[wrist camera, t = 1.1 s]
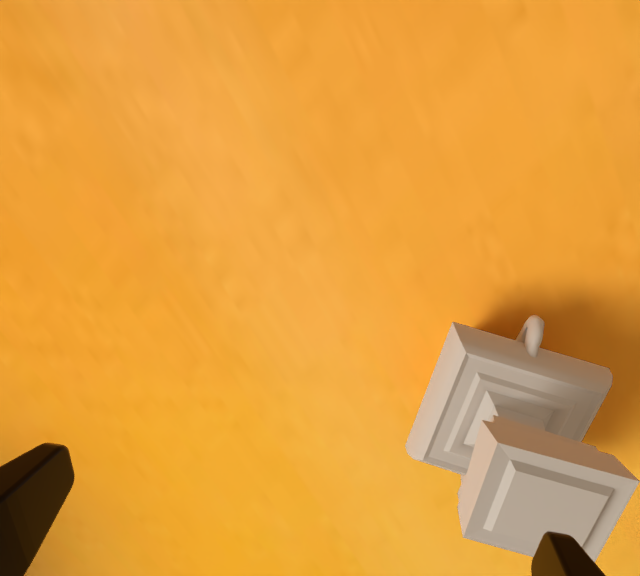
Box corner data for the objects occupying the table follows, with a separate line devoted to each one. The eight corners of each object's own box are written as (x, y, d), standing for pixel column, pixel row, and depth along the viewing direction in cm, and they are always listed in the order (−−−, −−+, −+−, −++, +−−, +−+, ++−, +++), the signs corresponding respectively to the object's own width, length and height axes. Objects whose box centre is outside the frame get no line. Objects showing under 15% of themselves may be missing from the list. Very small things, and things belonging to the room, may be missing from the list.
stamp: (453, 279, 21) (486, 360, 13) (598, 319, 21) (722, 428, 13) (397, 436, 24) (396, 578, 16) (522, 475, 24) (584, 642, 16)
